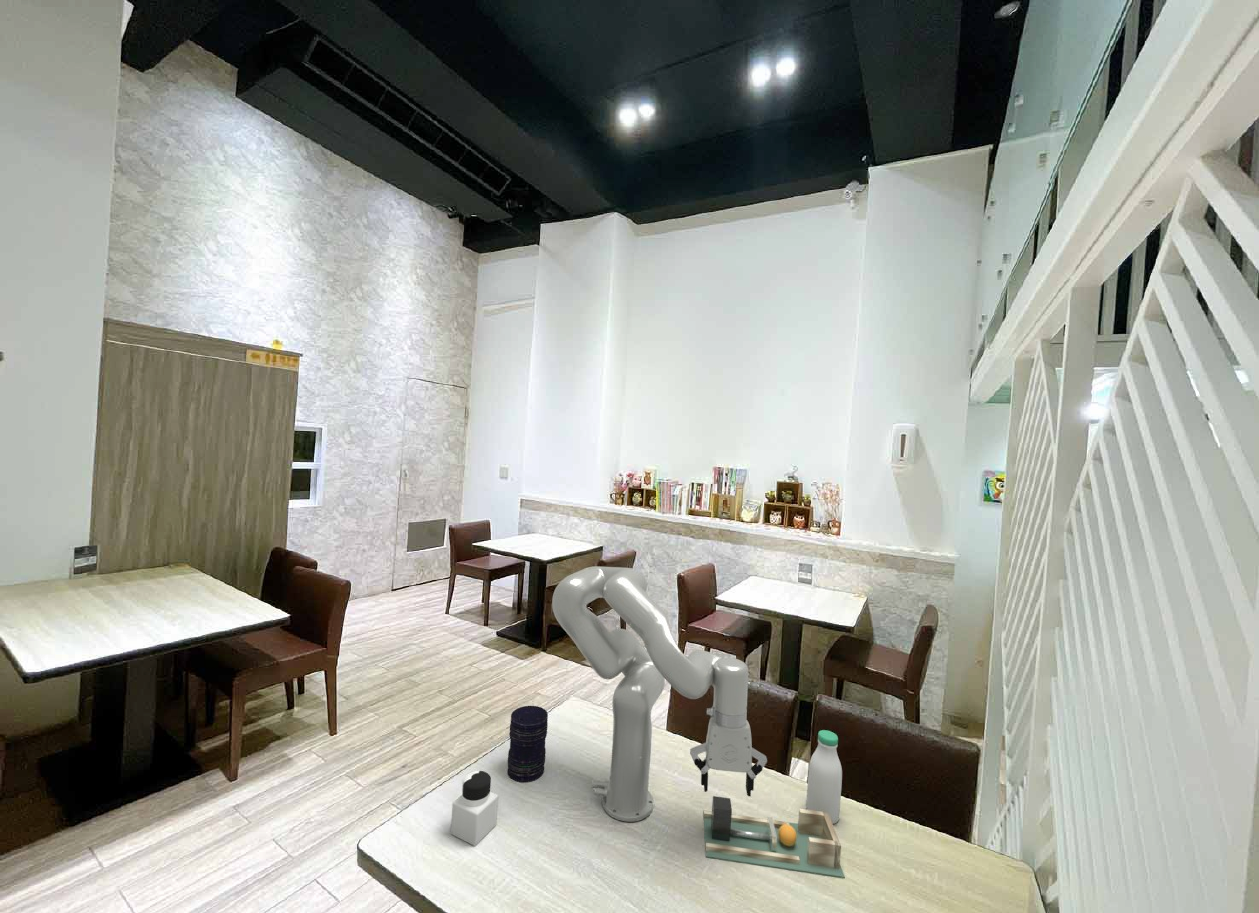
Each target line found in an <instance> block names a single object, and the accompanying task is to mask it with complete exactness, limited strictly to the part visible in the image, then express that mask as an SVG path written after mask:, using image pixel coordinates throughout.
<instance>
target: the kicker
mask: <svg viewBox="0 0 1259 913" xmlns="http://www.w3.org/2000/svg"><path fill="white" fill-rule="evenodd" d="M731 801H732V800H731V798H729V797H723V796H716V795H713V796H712V802H711V803H712V805H711V811H712V815H711V835H712V839H718V840H725V841H730V835H731V836H738V837H745V838H752V839H759V840H766V841H769V843H770V847H771V851H776V843H777V835H776V831H775V827H774V823H773V820H774V819H773V816H772V817H769V816H767V819H768V820H767V834H763V833H756V832H749V831H742V830H735V829H731V816H732V814H733V810H732V802H731Z"/></svg>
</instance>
